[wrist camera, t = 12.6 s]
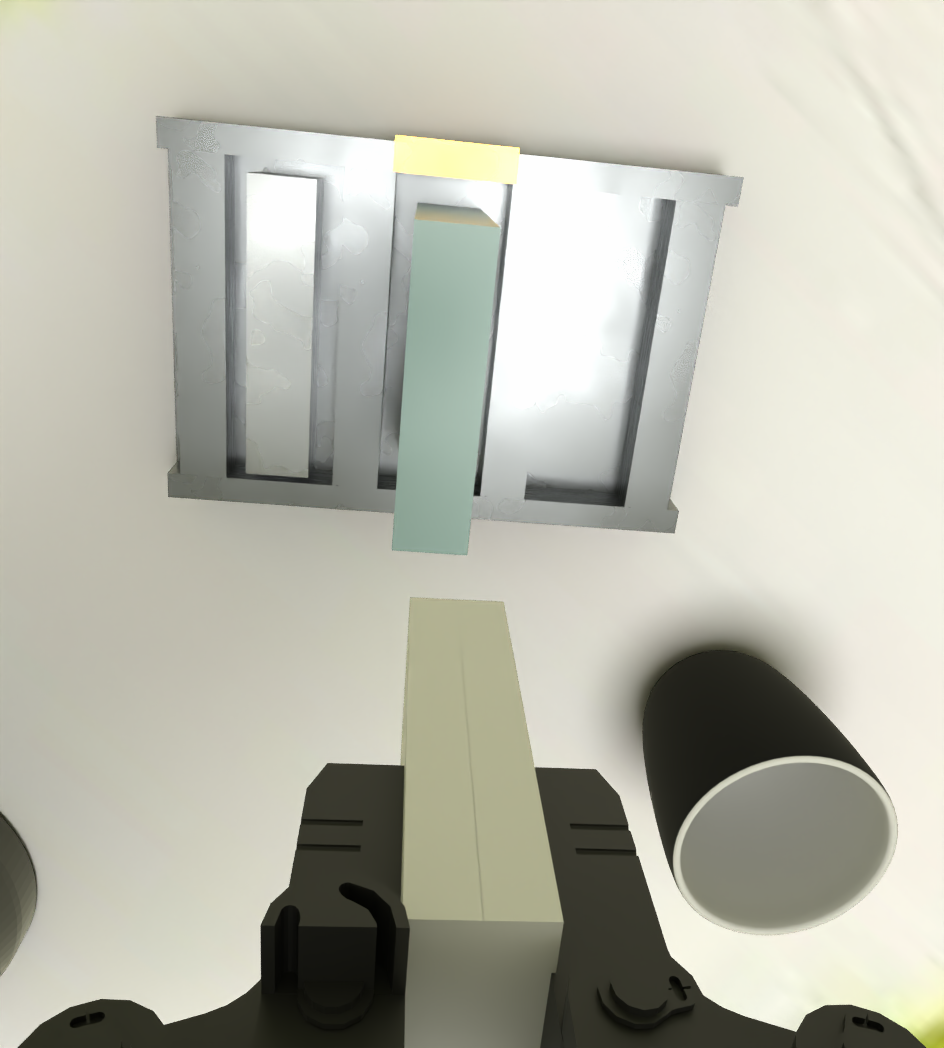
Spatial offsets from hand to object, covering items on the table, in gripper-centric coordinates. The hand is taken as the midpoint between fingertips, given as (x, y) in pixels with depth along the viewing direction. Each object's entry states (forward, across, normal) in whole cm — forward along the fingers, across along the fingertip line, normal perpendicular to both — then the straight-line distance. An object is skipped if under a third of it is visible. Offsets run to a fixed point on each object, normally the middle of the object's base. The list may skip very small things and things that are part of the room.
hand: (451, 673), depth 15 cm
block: (+24, 0, +1) cm, 24 cm away
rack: (+25, 0, +1) cm, 25 cm away
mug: (+25, +16, -17) cm, 34 cm away
